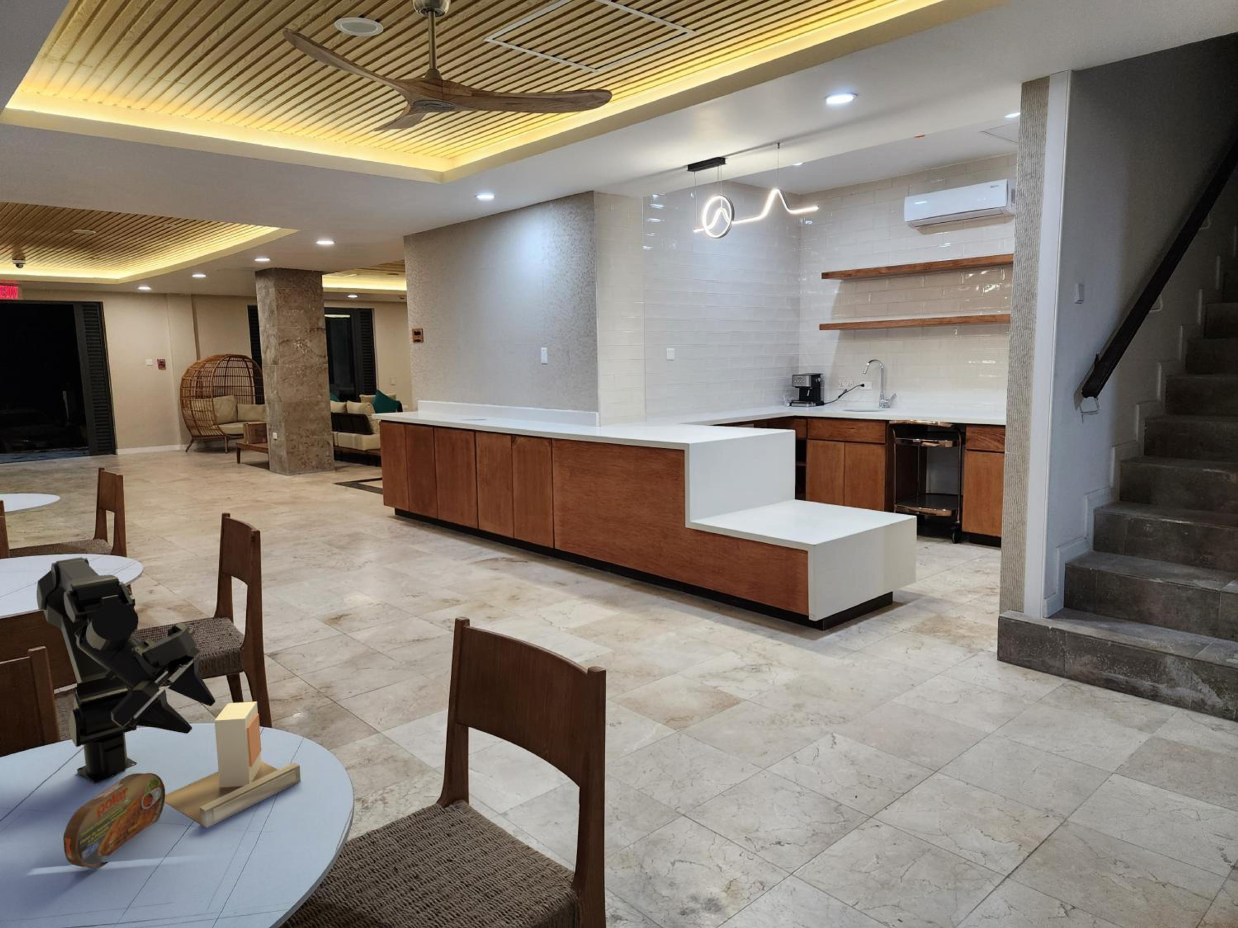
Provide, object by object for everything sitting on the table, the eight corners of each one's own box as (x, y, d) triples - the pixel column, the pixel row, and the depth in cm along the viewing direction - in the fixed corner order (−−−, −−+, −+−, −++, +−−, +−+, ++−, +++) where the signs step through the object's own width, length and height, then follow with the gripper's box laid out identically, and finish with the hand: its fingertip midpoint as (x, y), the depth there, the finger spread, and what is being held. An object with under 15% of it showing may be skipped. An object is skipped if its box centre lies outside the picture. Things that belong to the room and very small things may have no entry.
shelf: (158, 801, 121) (157, 781, 121) (251, 759, 133) (250, 741, 133) (208, 832, 113) (206, 811, 113) (302, 784, 126) (300, 765, 125)
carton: (219, 787, 124) (214, 720, 122) (232, 767, 130) (228, 703, 128) (251, 784, 124) (246, 718, 123) (263, 765, 130) (258, 701, 129)
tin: (82, 882, 103) (75, 821, 102) (61, 879, 103) (54, 818, 102) (169, 815, 117) (164, 762, 116) (151, 813, 118) (145, 760, 117)
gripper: (126, 637, 112) (215, 707, 115) (182, 595, 131) (257, 657, 133) (72, 692, 113) (161, 761, 115) (135, 643, 131) (211, 704, 134)
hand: (202, 716), depth 125 cm, fingers open, 9 cm apart
